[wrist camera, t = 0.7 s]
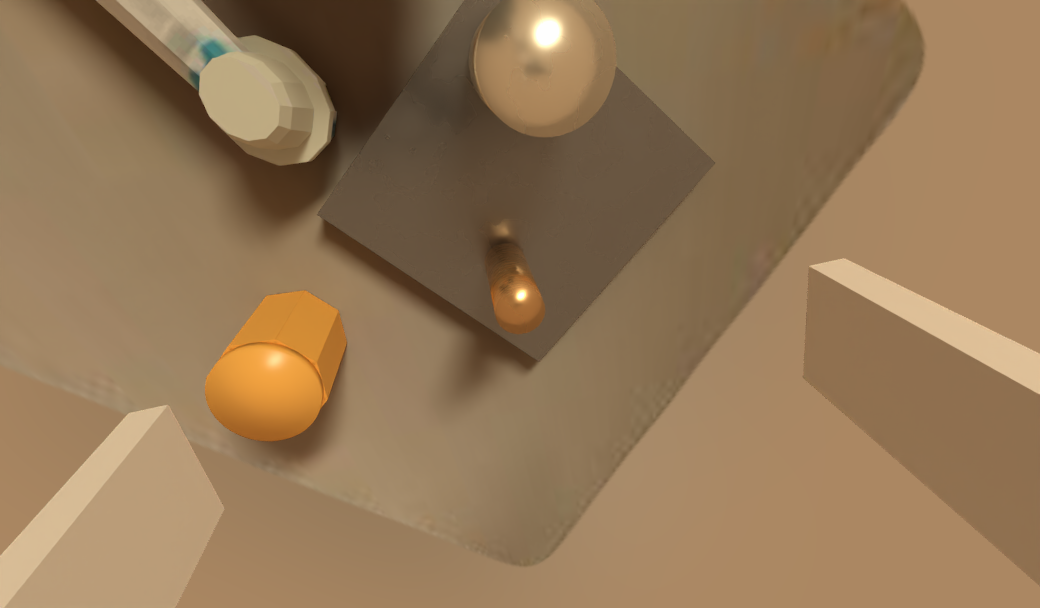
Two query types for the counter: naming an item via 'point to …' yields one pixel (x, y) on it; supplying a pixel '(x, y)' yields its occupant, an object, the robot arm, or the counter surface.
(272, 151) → the white handheld device
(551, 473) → the counter surface
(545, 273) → the grey slab with post
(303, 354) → the orange acorn nut
